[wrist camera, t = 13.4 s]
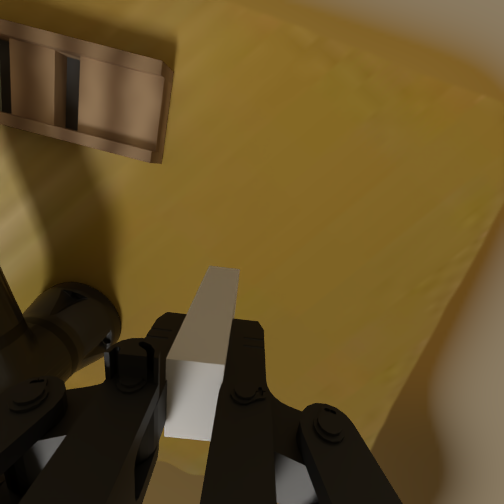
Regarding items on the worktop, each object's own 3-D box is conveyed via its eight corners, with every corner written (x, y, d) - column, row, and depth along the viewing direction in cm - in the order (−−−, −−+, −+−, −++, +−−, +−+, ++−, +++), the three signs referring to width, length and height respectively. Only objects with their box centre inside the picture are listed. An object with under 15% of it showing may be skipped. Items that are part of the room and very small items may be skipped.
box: (173, 72, 35) (154, 53, 30) (161, 163, 39) (142, 162, 33) (-88, 4, 35) (-158, -29, 30) (-76, 102, 39) (-136, 90, 33)
